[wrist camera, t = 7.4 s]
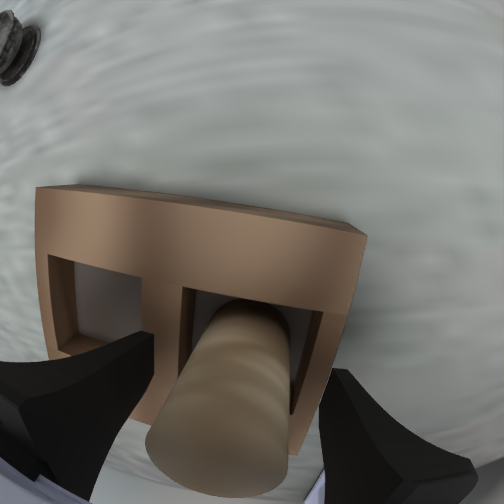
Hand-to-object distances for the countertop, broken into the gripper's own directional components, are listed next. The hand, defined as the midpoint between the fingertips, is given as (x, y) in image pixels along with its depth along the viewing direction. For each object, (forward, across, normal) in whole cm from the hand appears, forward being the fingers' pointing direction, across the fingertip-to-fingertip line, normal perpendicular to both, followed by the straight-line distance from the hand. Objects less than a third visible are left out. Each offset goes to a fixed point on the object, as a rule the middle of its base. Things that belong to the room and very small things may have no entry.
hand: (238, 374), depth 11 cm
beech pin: (+3, 0, 0) cm, 3 cm away
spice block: (+5, +4, 0) cm, 6 cm away
